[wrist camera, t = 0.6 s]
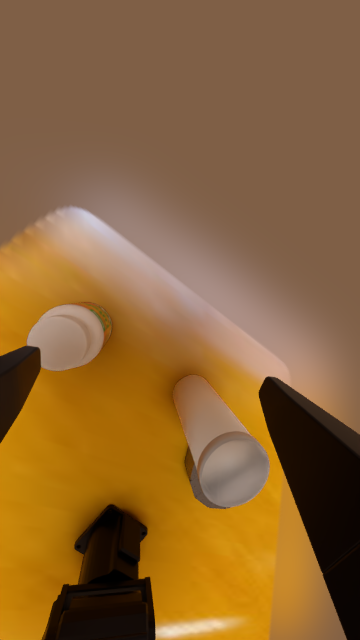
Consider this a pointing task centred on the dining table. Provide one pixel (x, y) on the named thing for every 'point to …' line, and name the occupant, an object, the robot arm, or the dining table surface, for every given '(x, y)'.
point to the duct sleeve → (219, 445)
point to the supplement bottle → (70, 335)
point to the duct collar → (197, 482)
